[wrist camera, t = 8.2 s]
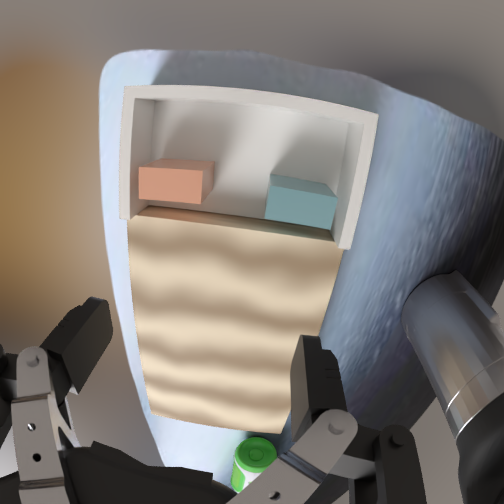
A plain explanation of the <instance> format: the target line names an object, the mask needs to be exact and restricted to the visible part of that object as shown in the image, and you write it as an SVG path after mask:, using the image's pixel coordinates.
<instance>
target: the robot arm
mask: <svg viewBox="0 0 504 504" xmlns="http://www.w3.org/2000/svg"><path fill="white" fill-rule="evenodd" d="M401 323H402V326H403V328H404V330H405V332H406V334H407V337H408V339H409V340H410V342H411V344H412V346H413V348H414V350H415V352H416V354H417V356H418V358H419V360H420V362H421V364H422V366H423V368H424V370H425V372H426V374H427V376H428V378H429V380H430V383H431V385H432V387H433V389H434V391H435V394H436V396H437V398H438V400H439V402H440V405H441V407H442V410H443V412H444V414H445V416H446V419H447V421H448V424H449V426H450V429H451V431H452V434H453V436H454V439H455V442H456V445H457V448H458V451H459V455H460V460H459V469H458V478H459V484H460V489H461V493H462V498H463V503H464V504H504V332H503V330H502V329H501V324H500V317H499V315H498V314H497V312H496V311H495V310H494V309H493V308H492V307H491V305H490V304H489V303H488V302H487V301H486V300H485V299H484V298H483V297H482V296H481V294H480V293H479V292H478V291H477V290H476V289H475V288H474V287H473V286H472V285H471V284H470V283H469V282H468V281H467V280H466V279H465V278H464V277H463V276H462V275H461V274H460V273H459V272H458V271H457V270H455V271H454V272H452V273H450V274H441V275H437V276H433V277H431V278H429V279H427V280H426V281H424V282H423V283H421V284H420V285H419V286H418V287H417V288H416V289H415V290H414V291H413V292H412V293H411V294H410V296H409V297H408V299H407V300H406V302H405V304H404V307H403V310H402V315H401ZM112 335H113V327H112V321H111V316H110V310H109V304H108V302H107V301H106V300H104V299H100V298H95V297H90V298H88V299H87V300H86V302H85V303H84V304H83V305H82V306H80V305H79V306H77V307H75V308H74V309H72V310H70V311H69V312H68V313H67V314H66V316H65V317H64V318H63V320H61V321H60V322H59V324H58V326H56V327H55V328H54V330H53V331H52V332H51V333H50V334H49V336H48V337H47V338H46V339H45V341H44V342H43V343H42V344H41V345H40V347H29V348H26V349H24V350H23V351H22V352H21V353H20V354H19V355H17V354H9V353H5V351H4V349H3V347H2V345H1V344H0V448H1V446H2V444H3V442H4V440H5V438H6V436H7V434H8V432H9V430H10V428H11V426H13V436H14V444H15V451H16V458H17V464H18V470H19V471H16V472H14V473H12V474H9V475H7V476H4V477H1V478H0V504H304V502H305V501H306V500H307V499H308V498H309V497H310V496H311V494H312V493H313V492H314V491H315V490H316V489H317V487H318V486H319V485H320V484H321V482H322V481H323V480H324V478H325V476H326V475H327V474H328V473H331V474H335V475H339V476H343V477H347V478H349V502H350V504H427V502H426V495H425V489H424V483H423V478H422V473H421V467H420V463H419V458H418V453H417V448H416V444H415V440H414V437H413V435H412V433H411V432H410V431H409V430H408V429H407V428H405V427H403V426H401V425H389V426H387V427H385V428H384V429H383V430H382V431H379V430H375V429H371V428H367V427H363V426H361V425H359V424H357V422H356V420H355V418H354V417H353V416H352V415H351V414H349V413H348V411H347V407H346V401H345V396H344V391H343V386H342V381H341V376H340V372H339V366H338V361H337V359H336V357H335V356H334V354H333V353H332V352H331V350H324V349H322V347H321V341H320V337H319V336H311V335H302V334H301V335H300V337H299V340H298V343H297V346H296V349H295V353H294V356H293V359H292V363H291V369H290V390H291V431H292V442H296V443H295V444H294V445H293V446H292V447H291V448H290V449H289V450H288V451H287V452H286V453H283V454H281V455H280V456H279V457H278V458H277V459H276V460H275V461H274V462H273V463H272V464H271V465H270V466H268V467H267V468H266V469H265V470H264V471H263V472H262V473H261V474H260V475H259V476H258V477H257V478H256V479H254V480H253V481H252V482H251V483H250V484H249V485H248V486H247V487H245V488H244V489H243V490H242V491H241V492H240V493H238V494H237V493H236V492H234V491H233V490H232V489H230V488H229V487H227V486H225V485H223V484H221V483H220V482H217V481H215V480H212V479H213V473H209V472H204V471H198V470H193V469H188V468H183V467H157V466H156V467H155V466H147V465H145V464H143V463H141V462H139V461H138V460H136V459H134V458H132V457H131V456H129V455H127V454H126V453H124V452H122V451H121V450H118V449H115V448H112V447H109V446H107V445H104V444H101V443H99V442H96V441H93V443H92V445H91V447H81V446H80V444H79V442H78V440H77V438H76V435H75V431H74V427H73V423H72V419H71V415H70V410H69V405H68V400H67V398H66V395H67V393H68V392H69V391H70V392H72V393H74V394H77V395H78V394H79V392H80V391H81V389H82V387H83V386H84V384H85V382H86V381H87V379H88V377H89V375H90V374H91V372H92V370H93V369H94V367H95V365H96V364H97V362H98V361H99V359H100V357H101V356H102V354H103V352H104V351H105V349H106V347H107V346H108V344H109V343H110V341H111V338H112Z"/></svg>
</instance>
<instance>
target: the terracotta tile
mask: <svg viewBox="0 0 504 504" xmlns="http://www.w3.org/2000/svg"><path fill="white" fill-rule="evenodd" d="M214 168H215V162H214V161H200V160H185V159H166V158H161V159H158V160H155V161H153V162H150V163H148V164H145V165H143V166H140V167H139V199H147V200H160V201H172V202H183V203H194V204H201V203H202V202H203V201H204V200H205V198H206V197H207V196H208V195H209V193H210V192H211V191H212V190H213V182H214Z"/></svg>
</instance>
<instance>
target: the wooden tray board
mask: <svg viewBox="0 0 504 504" xmlns="http://www.w3.org/2000/svg"><path fill="white" fill-rule="evenodd" d="M127 232H128V252H129V267H130V280H131V291H132V300H133V309H134V318H135V325H136V333H137V339H138V346H139V352H140V358H141V364H142V370H143V375H144V381H145V386H146V391H147V395H148V400H149V405H150V409H151V413H152V414H154V415H159V416H163V417H167V418H172V419H176V420H181V421H186V422H191V423H197V424H202V425H208V426H214V427H221V428H228V429H236V430H244V431H253V432H264V433H278V434H281V432H282V429H283V427H284V425H285V422H286V420H287V417H288V415H289V413H290V410H291V390H290V369H291V363H292V359H293V356H294V353H295V349H296V346H297V343H298V340H299V337H300V335H301V334H302V335H311V336H318V334H319V331H320V328H321V325H322V322H323V319H324V316H325V313H326V309H327V306H328V303H329V300H330V296H331V293H332V290H333V286H334V283H335V280H336V276H337V273H338V269H339V265H340V262H341V258H342V254H343V251H344V249H340V248H338V247H337V245H336V243H335V241H334V239H333V237H332V235H331V233H330V231H329V229H323V228H318V227H312V226H306V225H300V224H294V223H287V222H280V221H273V220H266V219H259V218H252V217H244V216H237V215H229V214H221V213H213V212H205V211H197V210H189V209H180V208H172V207H163V206H153V205H148V206H147V207H146V208H145V209H143V210H142V211H141V212H139V213H138V214H137V215H136V216H134V217H133V218H132V219H131V220H127Z"/></svg>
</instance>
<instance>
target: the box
mask: <svg viewBox="0 0 504 504" xmlns="http://www.w3.org/2000/svg"><path fill="white" fill-rule="evenodd" d="M378 116H379V114H376V113H372V112H368V111H365V110H361V109H357V108H353V107H349V106H344V105H340V104H336V103H331V102H326V101H322V100H317V99H311V98H306V97H300V96H294V95H288V94H282V93H275V92H267V91H259V90H251V89H241V88H230V87H216V86H195V85H141V86H125V87H124V97H123V107H122V119H121V134H120V155H119V218H120V219H126V220H131V219H132V218H133V217H134V216H136V215H137V214H138V213H139V212H141V211H142V210H143V209H145V208H146V207H147V206H148V205H153V206H163V207H172V208H180V209H189V210H197V211H205V212H213V213H221V214H229V215H237V216H244V217H252V218H259V219H265V201H266V195H267V189H268V183H269V177H270V174H275V175H281V176H287V177H292V178H298V179H303V180H308V181H314V182H319V183H324V184H326V185H327V186H328V187H329V188H330V189H331V190H332V192H333V193H334V194H335V195H336V196H337V197H338V201H337V205H336V209H335V213H334V217H333V221H332V225H331V229H330V230H329V231H330V233H331V235H332V237H333V239H334V241H335V243H336V245H337V247H338V248H340V249H347V250H350V247H351V244H352V240H353V236H354V232H355V228H356V224H357V220H358V216H359V212H360V208H361V204H362V199H363V195H364V190H365V186H366V181H367V176H368V172H369V167H370V162H371V156H372V151H373V146H374V140H375V134H376V128H377V122H378ZM161 158H166V159H185V160H200V161H214V162H215V168H214V182H213V190H212V191H211V192H210V193H209V195H208V196H207V197H206V198H205V200H204V201H203V202H202V203H201V204H194V203H183V202H172V201H160V200H147V199H139V167H140V166H143V165H145V164H148V163H150V162H153V161H155V160H158V159H161ZM266 220H271V219H266ZM273 221H277V220H273ZM280 222H283V221H280ZM287 223H289V222H287ZM294 224H295V223H294ZM300 225H301V224H300Z"/></svg>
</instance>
